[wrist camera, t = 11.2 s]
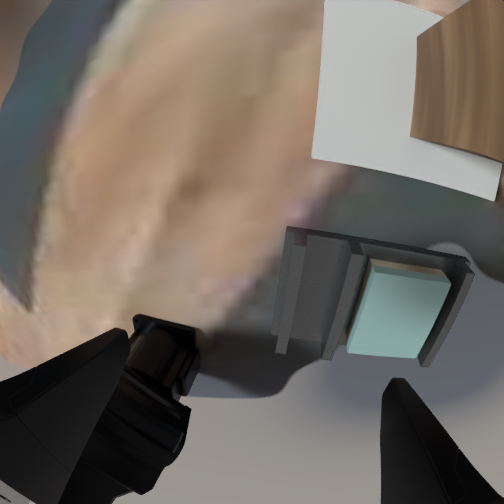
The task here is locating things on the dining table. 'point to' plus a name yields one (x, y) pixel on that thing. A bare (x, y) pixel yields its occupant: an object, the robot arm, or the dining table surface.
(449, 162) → the board
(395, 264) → the offcut lower
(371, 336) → the offcut upper
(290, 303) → the rack
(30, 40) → the dining table surface
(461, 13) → the brown flat block
